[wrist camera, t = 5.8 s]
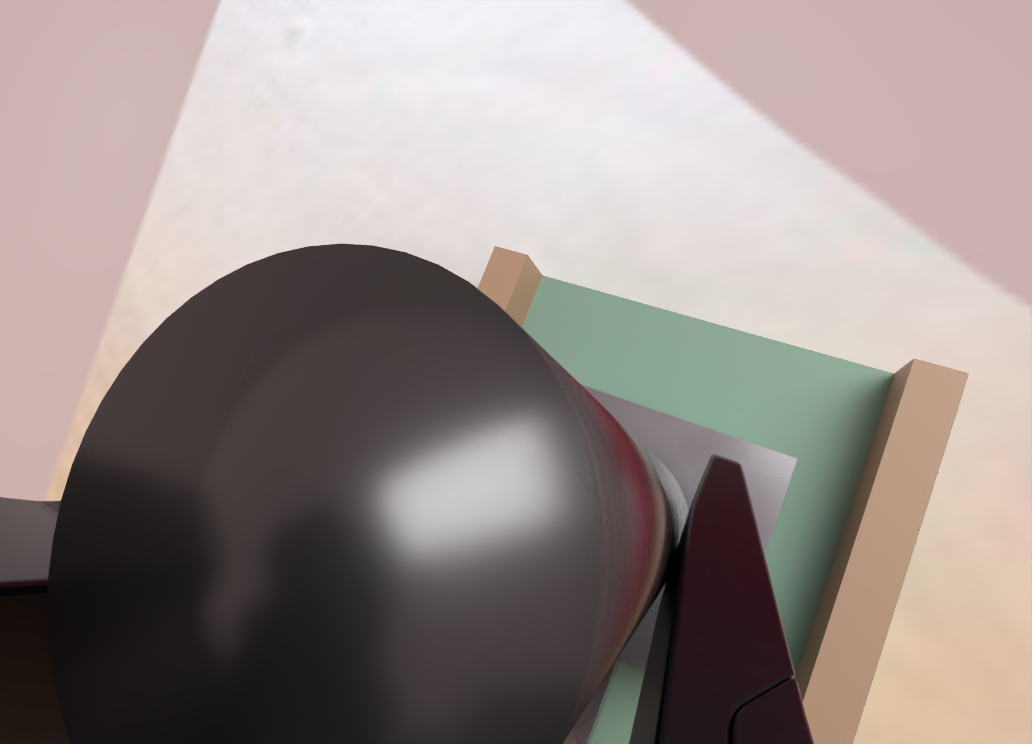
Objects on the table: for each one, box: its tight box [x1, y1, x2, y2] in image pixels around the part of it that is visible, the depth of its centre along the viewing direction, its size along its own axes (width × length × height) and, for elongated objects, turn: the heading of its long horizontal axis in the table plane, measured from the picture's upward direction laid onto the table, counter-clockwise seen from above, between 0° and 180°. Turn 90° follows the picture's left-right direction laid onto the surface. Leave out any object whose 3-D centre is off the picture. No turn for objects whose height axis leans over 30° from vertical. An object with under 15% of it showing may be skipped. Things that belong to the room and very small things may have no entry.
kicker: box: [47, 244, 797, 744], centre depth 9 cm, size 10×8×13 cm
